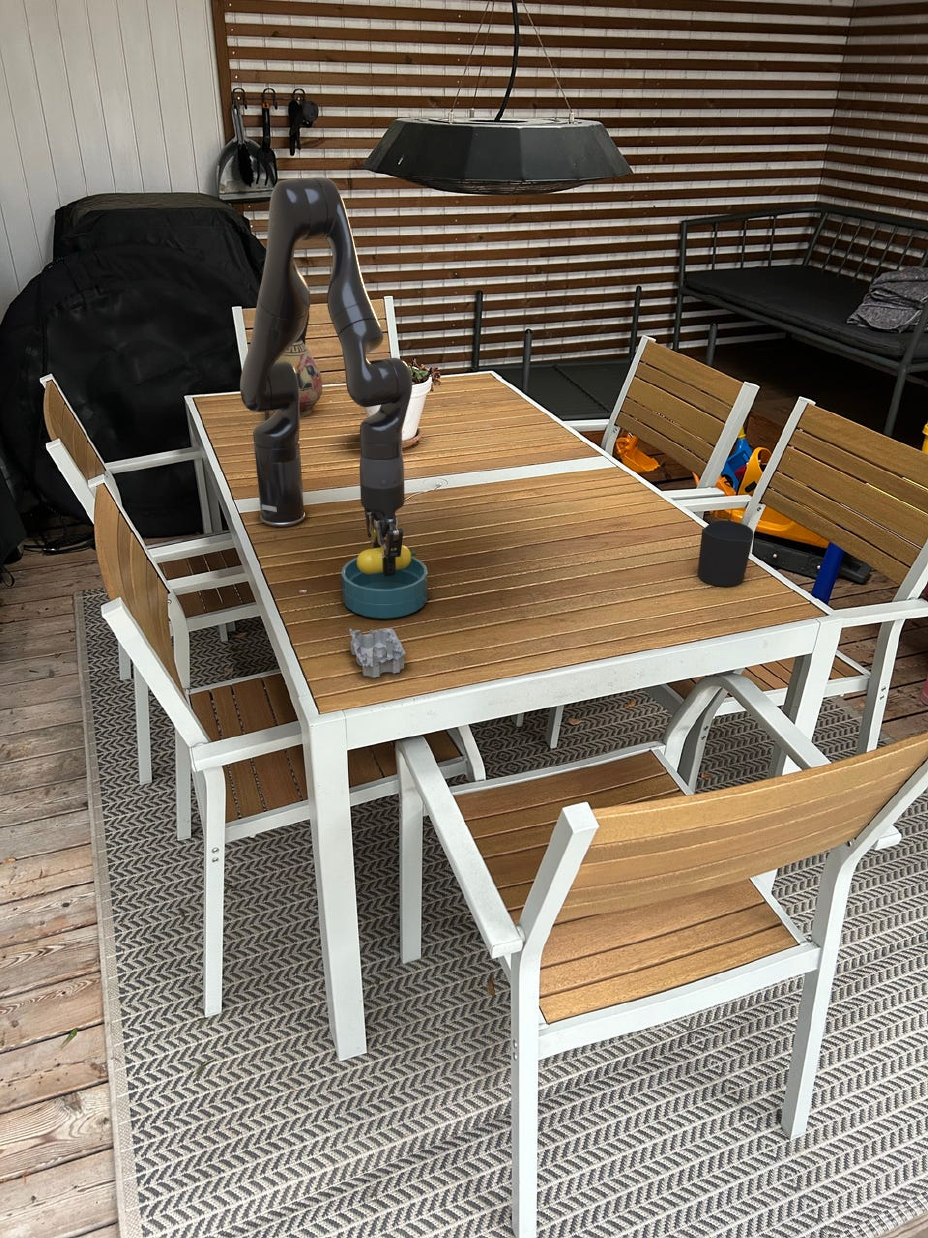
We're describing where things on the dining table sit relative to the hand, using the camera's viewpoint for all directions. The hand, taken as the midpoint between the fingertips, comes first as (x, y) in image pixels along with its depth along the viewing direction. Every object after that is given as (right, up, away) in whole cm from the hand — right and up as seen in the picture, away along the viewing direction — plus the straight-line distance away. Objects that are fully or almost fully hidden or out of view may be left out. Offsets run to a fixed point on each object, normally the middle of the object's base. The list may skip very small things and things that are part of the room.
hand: (384, 568), depth 169 cm
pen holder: (+64, -1, +14) cm, 65 cm away
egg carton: (0, -16, -15) cm, 22 cm away
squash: (0, 0, 0) cm, 0 cm away
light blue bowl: (0, -6, +3) cm, 6 cm away
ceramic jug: (-33, +50, +101) cm, 117 cm away
